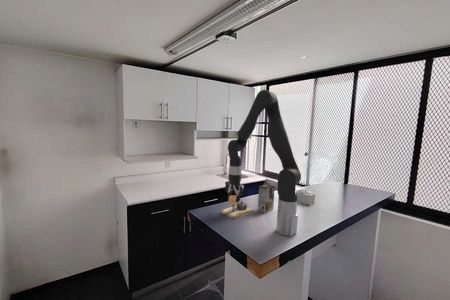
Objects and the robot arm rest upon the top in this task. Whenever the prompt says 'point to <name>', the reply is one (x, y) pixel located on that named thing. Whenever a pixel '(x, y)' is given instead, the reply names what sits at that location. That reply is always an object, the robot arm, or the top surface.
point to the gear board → (237, 210)
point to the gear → (232, 199)
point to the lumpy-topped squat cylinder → (305, 196)
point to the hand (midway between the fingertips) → (233, 200)
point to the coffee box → (266, 198)
